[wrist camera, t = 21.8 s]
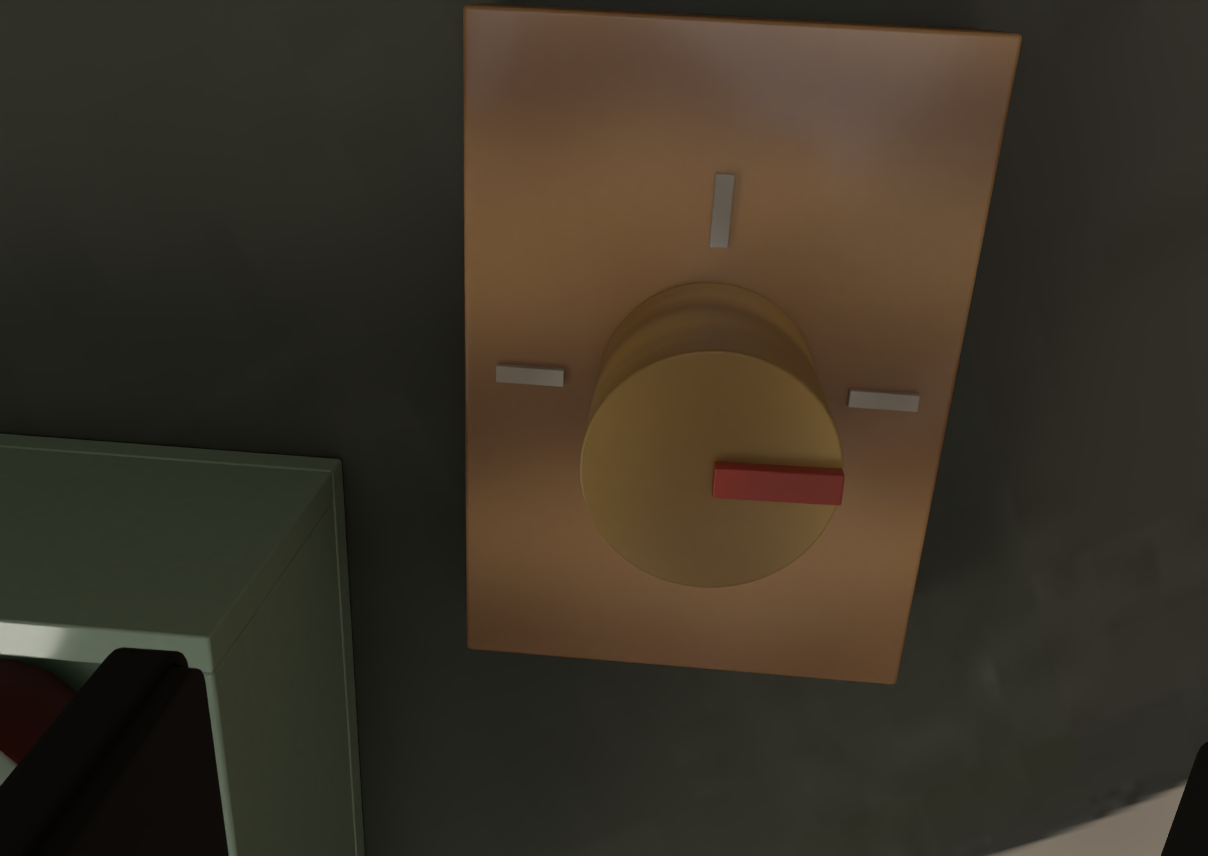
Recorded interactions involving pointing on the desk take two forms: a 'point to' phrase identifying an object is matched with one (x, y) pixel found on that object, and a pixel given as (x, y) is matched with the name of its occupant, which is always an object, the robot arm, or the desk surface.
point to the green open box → (201, 609)
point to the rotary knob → (710, 439)
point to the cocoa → (26, 709)
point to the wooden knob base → (726, 256)
